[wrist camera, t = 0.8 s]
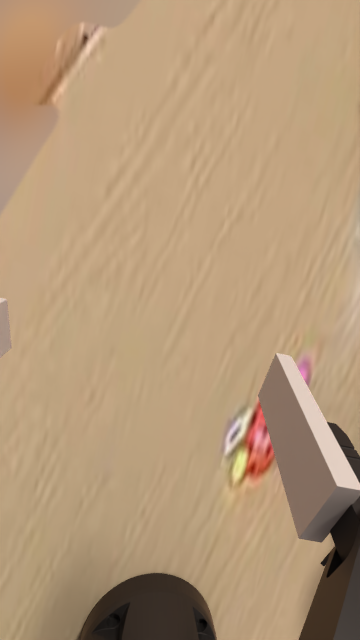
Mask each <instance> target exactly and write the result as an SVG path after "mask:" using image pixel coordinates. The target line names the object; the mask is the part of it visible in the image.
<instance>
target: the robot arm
mask: <svg viewBox="0 0 360 640" xmlns="http://www.w3.org/2000/svg"><path fill="white" fill-rule="evenodd" d="M11 348H12V347H11V337H10V326H9V315H8V305H7V299H3V298H0V358H1V357H2V356H3V355H4V354H5V353H6V352H7V351H8V350H10V349H11ZM258 397H259V401H260V404H261V408H262V411H263V415H264V418H265V422H266V425H267V429H268V432H269V436H270V439H271V443H272V446H273V450H274V453H275V457H276V460H277V464H278V467H279V471H280V474H281V478H282V481H283V485H284V488H285V492H286V495H287V499H288V503H289V506H290V510H291V513H292V517H293V520H294V524H295V527H296V531H297V534H298V538H299V539H305V540H311V541H316V542H323V540H324V539H325V538H326V537H327V535H328V534H329V533H331V536H332V538H333V541H334V543H335V547H334V548H333V549H332V550H331V551H330V553H329V554H328V555H327V556H326V557H325V558H324V560H323V561H322V562H321V564H322V565H323V566H325V565H326V566H325V569H324V572H323V574H322V577H321V580H320V583H319V585H318V588H317V591H316V594H315V596H314V599H313V602H312V605H311V607H310V610H309V613H308V615H307V618H306V621H305V624H304V626H303V629H302V632H301V635H300V637H299V640H360V456H359V455H358V453H357V451H356V450H354V446H353V445H352V443H351V441H350V439H349V438H348V436H347V435H346V434H345V433H344V432H343V431H342V430H341V429H340V428H339V427H338V426H337V425H336V424H334V423H329V422H326V420H325V418H324V416H323V414H322V412H321V411H320V409H319V407H318V405H317V403H316V401H315V399H314V398H313V396H312V394H311V392H310V390H309V388H308V386H307V385H306V383H305V381H304V379H303V377H302V375H301V373H300V372H299V370H298V368H297V366H296V364H295V362H294V360H293V359H292V357H291V356H288V355H283V354H278V353H276V354H275V357H274V359H273V361H272V364H271V366H270V369H269V371H268V373H267V376H266V378H265V380H264V383H263V385H262V387H261V390H260V392H259V394H258ZM80 640H217V637H216V633H215V629H214V625H213V621H212V617H211V613H210V610H209V608H208V605H207V603H206V601H205V600H204V598H203V597H202V595H201V594H200V593H199V592H198V590H197V589H196V588H194V587H193V586H192V585H191V584H189V583H188V582H186V581H185V580H183V579H181V578H179V577H176V576H173V575H168V574H162V573H151V574H144V575H140V576H136V577H133V578H131V579H128V580H126V581H124V582H122V583H120V584H119V585H117V586H116V587H114V588H113V589H112V590H110V591H109V592H108V593H107V594H106V595H105V596H104V597H103V598H102V599H101V600H100V601H99V602H98V603H97V604H96V606H95V607H94V608H93V610H92V611H91V613H90V615H89V616H88V618H87V620H86V622H85V625H84V627H83V630H82V633H81V636H80Z"/></svg>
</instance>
